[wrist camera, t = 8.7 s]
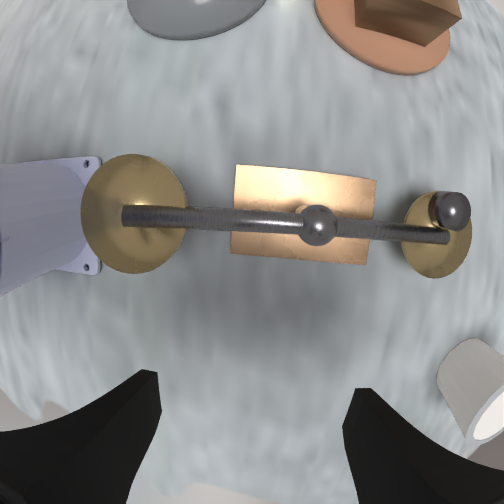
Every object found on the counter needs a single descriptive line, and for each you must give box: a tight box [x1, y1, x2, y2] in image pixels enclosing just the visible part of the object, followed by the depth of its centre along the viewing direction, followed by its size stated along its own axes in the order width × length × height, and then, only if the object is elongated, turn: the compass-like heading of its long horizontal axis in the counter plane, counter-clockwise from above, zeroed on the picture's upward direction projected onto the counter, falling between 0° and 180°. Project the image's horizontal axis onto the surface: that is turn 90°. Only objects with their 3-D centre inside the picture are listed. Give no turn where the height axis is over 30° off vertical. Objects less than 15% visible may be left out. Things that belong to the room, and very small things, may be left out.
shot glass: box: [436, 338, 504, 446], centre depth 16 cm, size 7×7×7 cm
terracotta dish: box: [314, 0, 450, 75], centre depth 14 cm, size 10×10×1 cm
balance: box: [80, 154, 472, 278], centre depth 14 cm, size 21×5×7 cm, turn 86°
